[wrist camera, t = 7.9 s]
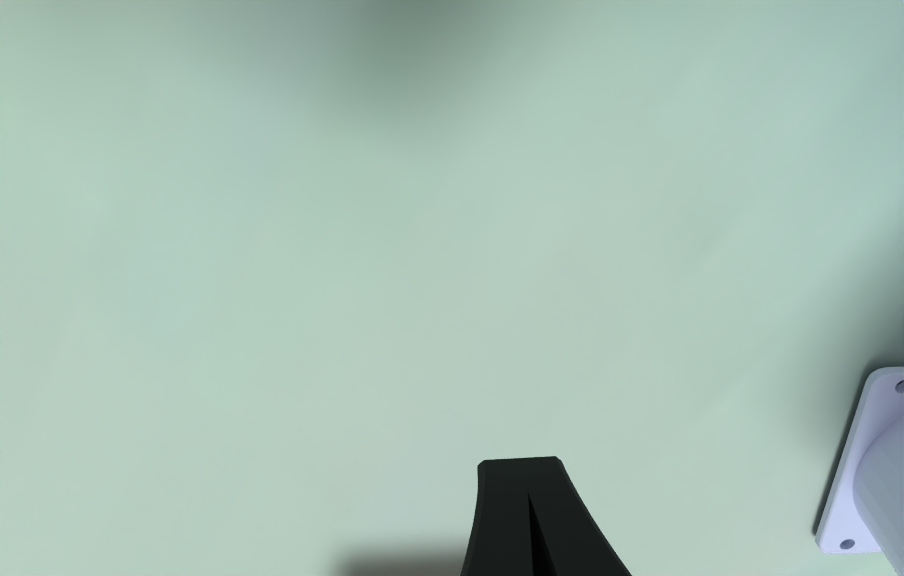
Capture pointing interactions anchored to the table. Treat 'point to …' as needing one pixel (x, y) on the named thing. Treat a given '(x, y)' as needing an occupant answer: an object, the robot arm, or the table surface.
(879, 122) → the table surface
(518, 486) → the robot arm
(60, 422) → the table surface
